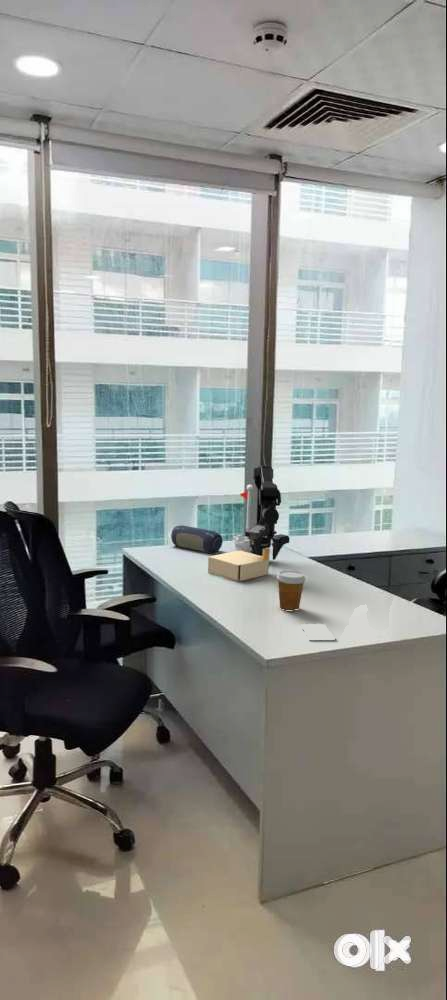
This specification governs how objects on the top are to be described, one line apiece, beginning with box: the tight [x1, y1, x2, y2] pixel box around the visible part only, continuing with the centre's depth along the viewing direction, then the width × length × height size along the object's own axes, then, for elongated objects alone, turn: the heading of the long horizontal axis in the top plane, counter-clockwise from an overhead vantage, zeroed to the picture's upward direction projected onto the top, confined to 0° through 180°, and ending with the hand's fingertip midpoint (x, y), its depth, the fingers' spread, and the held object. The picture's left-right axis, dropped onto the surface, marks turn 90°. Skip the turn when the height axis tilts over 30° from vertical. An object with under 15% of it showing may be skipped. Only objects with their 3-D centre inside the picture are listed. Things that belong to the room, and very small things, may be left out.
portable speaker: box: [170, 525, 224, 554], centre depth 297 cm, size 25×10×10 cm, turn 56°
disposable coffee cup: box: [276, 570, 306, 611], centre depth 219 cm, size 10×10×12 cm
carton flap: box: [239, 547, 271, 582], centre depth 254 cm, size 16×1×11 cm, turn 135°
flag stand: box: [232, 484, 254, 553], centre depth 301 cm, size 13×13×30 cm
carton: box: [207, 550, 270, 583], centre depth 260 cm, size 18×16×6 cm
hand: (265, 557), depth 258 cm, fingers open, 8 cm apart
